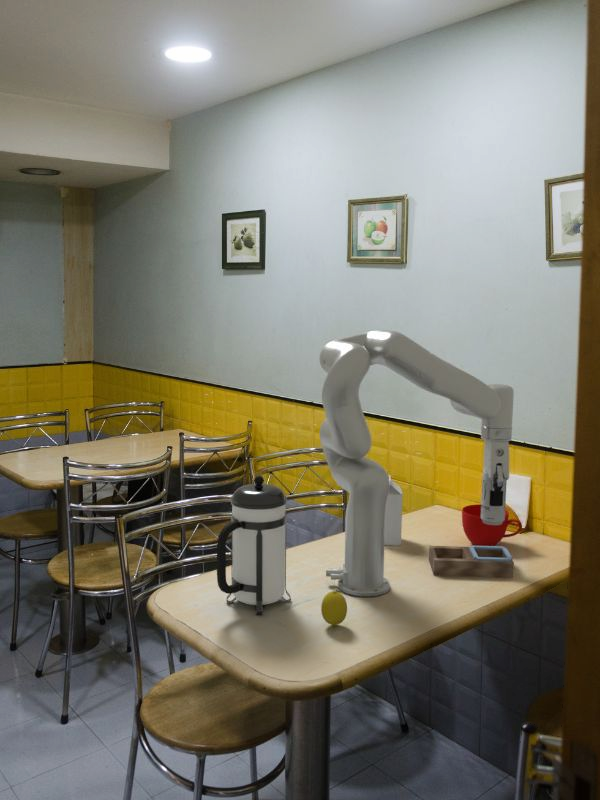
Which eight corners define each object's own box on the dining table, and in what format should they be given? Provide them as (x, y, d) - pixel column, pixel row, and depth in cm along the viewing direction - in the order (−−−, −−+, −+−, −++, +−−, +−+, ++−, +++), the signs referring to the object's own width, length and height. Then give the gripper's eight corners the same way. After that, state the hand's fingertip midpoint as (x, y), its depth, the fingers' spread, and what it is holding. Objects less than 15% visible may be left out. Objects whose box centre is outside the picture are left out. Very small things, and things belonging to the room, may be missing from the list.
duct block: (433, 575, 188) (434, 558, 187) (428, 559, 199) (429, 543, 198) (513, 577, 187) (514, 560, 186) (503, 562, 197) (504, 545, 197)
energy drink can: (477, 518, 193) (479, 463, 191) (500, 518, 194) (502, 462, 191) (484, 526, 187) (487, 468, 185) (507, 525, 188) (510, 468, 186)
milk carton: (400, 538, 216) (402, 475, 213) (401, 546, 209) (403, 481, 206) (375, 537, 217) (377, 474, 214) (375, 545, 210) (377, 480, 207)
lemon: (319, 620, 161) (320, 586, 160) (345, 620, 161) (345, 585, 160) (322, 632, 156) (322, 596, 154) (348, 631, 156) (349, 595, 155)
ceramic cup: (514, 558, 201) (516, 522, 199) (454, 547, 209) (455, 512, 208) (526, 544, 212) (527, 510, 210) (468, 534, 220) (469, 502, 219)
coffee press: (225, 588, 178) (224, 467, 174) (291, 589, 178) (292, 468, 174) (216, 620, 161) (215, 486, 156) (290, 621, 161) (291, 487, 156)
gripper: (519, 440, 178) (515, 512, 181) (504, 427, 195) (500, 493, 198) (488, 439, 179) (484, 511, 181) (475, 426, 196) (472, 492, 198)
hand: (493, 501), depth 190 cm, fingers closed on energy drink can, 6 cm apart
